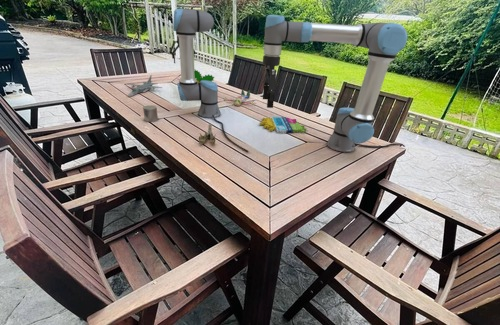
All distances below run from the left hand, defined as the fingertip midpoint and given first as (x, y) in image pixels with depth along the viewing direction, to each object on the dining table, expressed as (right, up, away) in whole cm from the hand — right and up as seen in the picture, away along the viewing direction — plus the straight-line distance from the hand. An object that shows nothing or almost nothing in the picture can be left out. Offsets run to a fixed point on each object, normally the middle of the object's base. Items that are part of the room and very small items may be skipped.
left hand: (183, 63), depth 210 cm
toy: (+46, -29, +11) cm, 56 cm away
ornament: (+8, -7, +45) cm, 46 cm away
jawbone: (+30, -68, -63) cm, 98 cm away
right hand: (+62, -52, -86) cm, 118 cm away
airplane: (-40, -17, +20) cm, 48 cm away
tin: (-11, -52, -38) cm, 66 cm away
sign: (+75, -55, -33) cm, 99 cm away
